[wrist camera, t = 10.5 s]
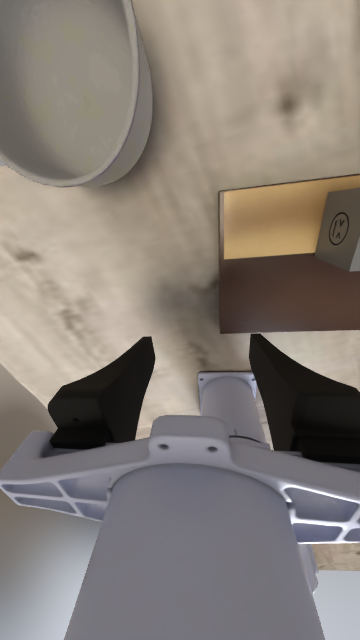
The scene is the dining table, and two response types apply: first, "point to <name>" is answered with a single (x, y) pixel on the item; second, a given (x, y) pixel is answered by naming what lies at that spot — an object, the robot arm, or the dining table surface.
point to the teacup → (72, 90)
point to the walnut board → (282, 261)
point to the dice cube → (341, 230)
